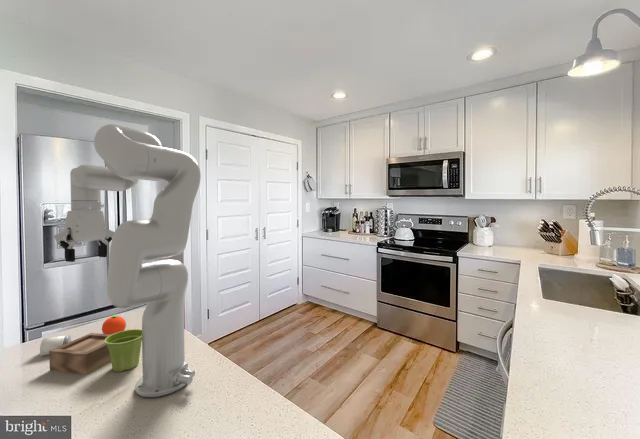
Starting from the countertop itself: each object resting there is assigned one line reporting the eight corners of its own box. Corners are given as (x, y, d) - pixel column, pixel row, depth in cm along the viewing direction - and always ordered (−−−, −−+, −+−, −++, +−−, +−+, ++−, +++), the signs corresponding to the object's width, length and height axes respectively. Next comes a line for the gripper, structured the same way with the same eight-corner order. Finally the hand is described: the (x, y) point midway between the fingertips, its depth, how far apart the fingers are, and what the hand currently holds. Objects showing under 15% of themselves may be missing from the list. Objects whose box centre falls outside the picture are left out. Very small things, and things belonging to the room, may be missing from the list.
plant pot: (125, 377, 75) (124, 344, 74) (95, 373, 77) (95, 341, 76) (153, 359, 84) (152, 330, 84) (126, 356, 86) (125, 328, 86)
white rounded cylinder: (45, 355, 88) (70, 351, 91) (38, 356, 84) (65, 351, 87) (47, 338, 90) (72, 334, 92) (41, 338, 85) (67, 334, 88)
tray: (124, 354, 88) (124, 335, 88) (86, 376, 76) (86, 354, 76) (91, 351, 90) (91, 332, 90) (49, 371, 78) (49, 350, 78)
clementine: (104, 333, 103) (104, 313, 102) (127, 329, 106) (127, 310, 106) (99, 342, 95) (99, 321, 95) (124, 337, 99) (124, 317, 99)
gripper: (105, 207, 102) (106, 255, 102) (46, 206, 85) (47, 263, 86) (120, 207, 99) (121, 255, 100) (63, 205, 83) (64, 264, 83)
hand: (87, 259), depth 93 cm, fingers open, 9 cm apart
